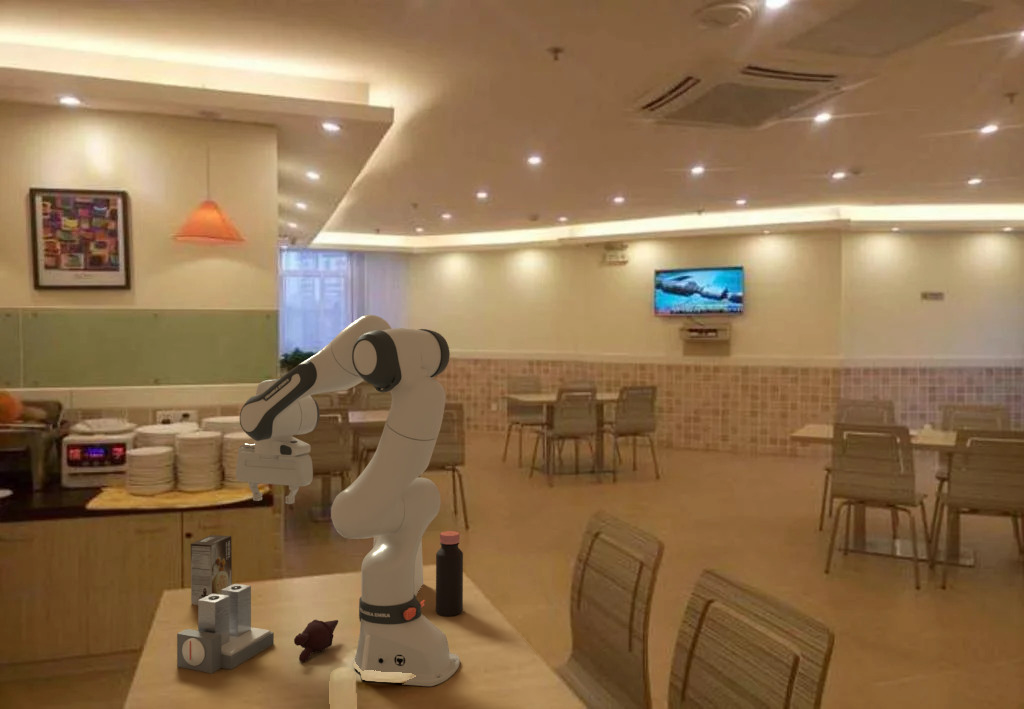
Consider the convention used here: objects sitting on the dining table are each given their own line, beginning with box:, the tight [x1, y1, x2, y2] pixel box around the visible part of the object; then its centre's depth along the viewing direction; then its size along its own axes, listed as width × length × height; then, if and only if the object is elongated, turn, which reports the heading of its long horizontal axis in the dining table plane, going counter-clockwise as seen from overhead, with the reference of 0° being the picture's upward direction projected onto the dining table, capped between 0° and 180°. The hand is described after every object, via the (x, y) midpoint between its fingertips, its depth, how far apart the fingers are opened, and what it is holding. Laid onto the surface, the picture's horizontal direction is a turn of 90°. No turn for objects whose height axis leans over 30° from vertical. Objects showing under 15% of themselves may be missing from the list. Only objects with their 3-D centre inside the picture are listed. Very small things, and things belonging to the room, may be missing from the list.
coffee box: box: [190, 534, 233, 606], centre depth 198 cm, size 9×6×16 cm
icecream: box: [293, 619, 339, 663], centre depth 167 cm, size 7×7×15 cm
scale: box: [176, 626, 275, 674], centre depth 164 cm, size 14×17×7 cm
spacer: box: [221, 583, 252, 637], centre depth 168 cm, size 4×4×10 cm
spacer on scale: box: [197, 594, 229, 646], centre depth 162 cm, size 4×4×10 cm
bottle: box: [435, 530, 464, 617], centre depth 190 cm, size 7×7×20 cm
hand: (273, 501), depth 183 cm, fingers open, 8 cm apart
